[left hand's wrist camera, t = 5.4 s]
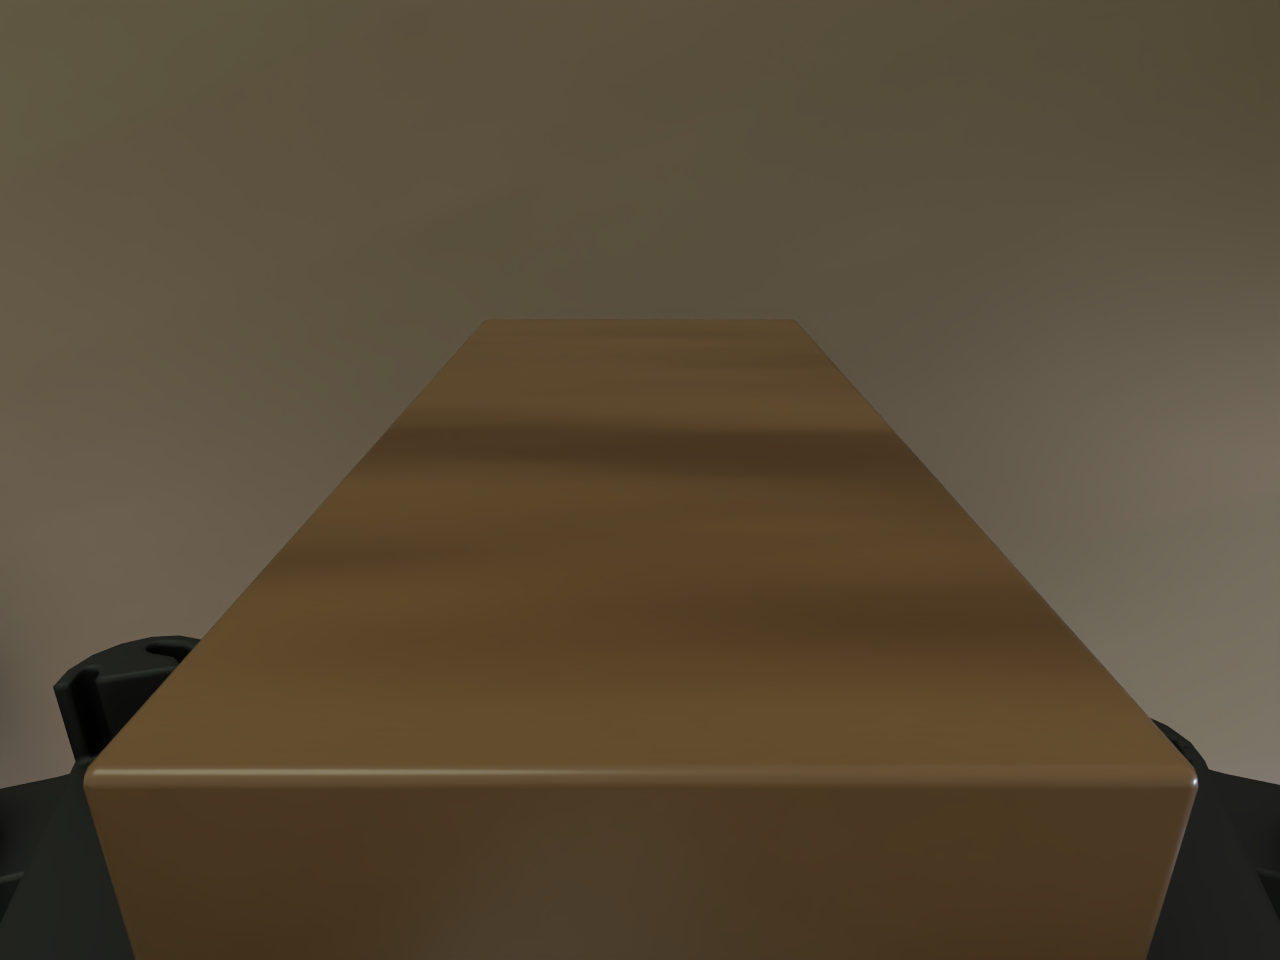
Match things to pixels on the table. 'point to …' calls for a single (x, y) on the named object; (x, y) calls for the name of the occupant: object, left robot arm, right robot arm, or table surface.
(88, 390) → the table surface
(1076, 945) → the box
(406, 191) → the table surface
